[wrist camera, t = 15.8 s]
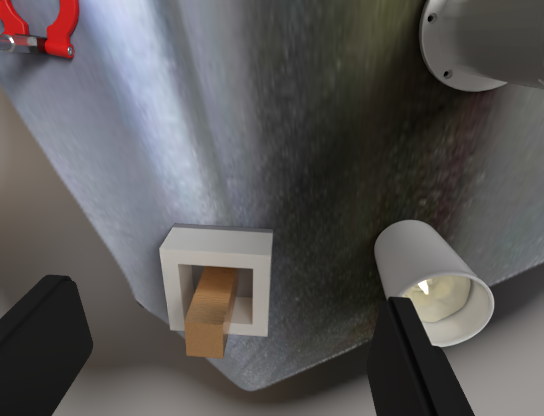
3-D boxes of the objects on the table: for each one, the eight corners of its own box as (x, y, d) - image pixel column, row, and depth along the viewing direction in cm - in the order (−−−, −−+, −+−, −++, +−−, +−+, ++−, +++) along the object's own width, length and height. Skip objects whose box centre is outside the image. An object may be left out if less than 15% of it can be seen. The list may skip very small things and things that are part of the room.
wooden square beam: (239, 256, 45) (222, 325, 34) (238, 286, 47) (223, 358, 37) (209, 254, 45) (184, 321, 34) (210, 283, 47) (186, 355, 37)
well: (273, 229, 44) (270, 255, 39) (269, 304, 50) (267, 336, 44) (175, 223, 44) (159, 248, 39) (183, 298, 50) (170, 330, 45)
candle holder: (370, 214, 42) (397, 273, 32) (451, 212, 42) (506, 273, 31) (365, 276, 47) (386, 347, 36) (437, 276, 46) (482, 348, 35)
